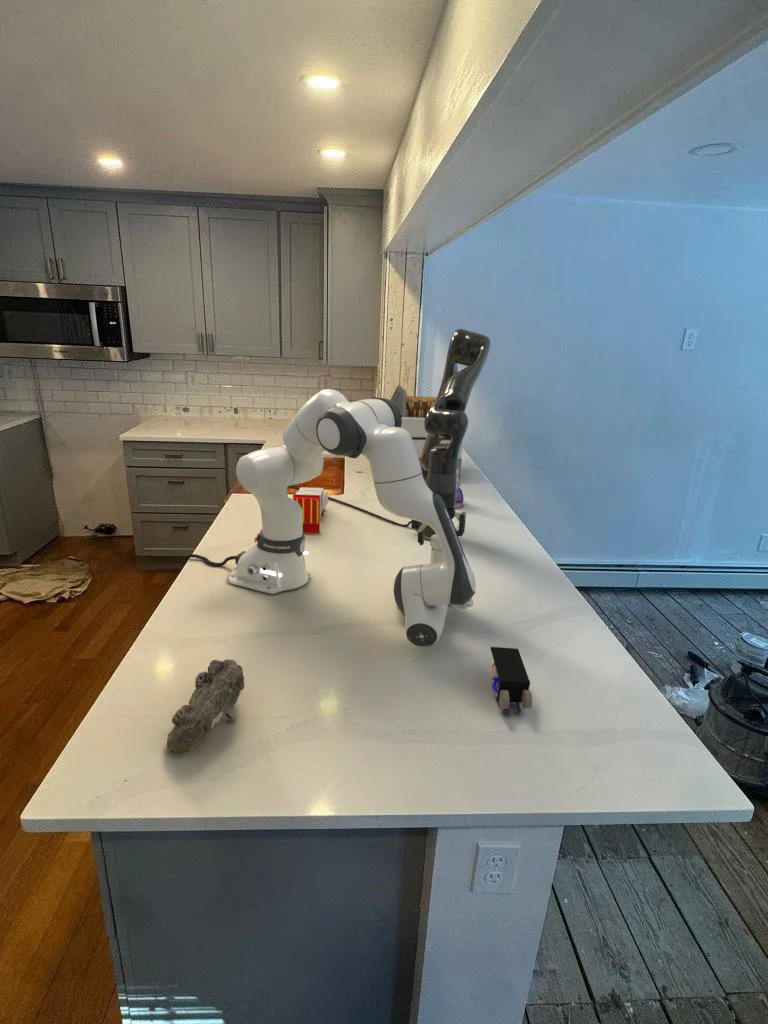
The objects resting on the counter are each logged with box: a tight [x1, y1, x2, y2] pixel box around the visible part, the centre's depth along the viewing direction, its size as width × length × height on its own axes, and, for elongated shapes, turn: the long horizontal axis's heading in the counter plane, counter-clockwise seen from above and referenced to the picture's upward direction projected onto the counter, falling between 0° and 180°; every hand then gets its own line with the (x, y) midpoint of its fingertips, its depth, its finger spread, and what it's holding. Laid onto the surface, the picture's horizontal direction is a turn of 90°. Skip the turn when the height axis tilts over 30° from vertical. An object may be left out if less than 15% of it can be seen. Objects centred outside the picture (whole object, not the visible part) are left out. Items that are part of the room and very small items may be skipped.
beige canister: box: [429, 546, 446, 564], centre depth 152 cm, size 4×4×18 cm
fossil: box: [166, 658, 245, 754], centre depth 106 cm, size 22×10×15 cm
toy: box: [292, 486, 329, 534], centre depth 207 cm, size 12×13×30 cm
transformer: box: [390, 384, 464, 482], centre depth 268 cm, size 34×33×41 cm
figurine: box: [454, 469, 464, 509], centre depth 229 cm, size 9×10×15 cm
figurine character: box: [490, 646, 533, 714], centre depth 117 cm, size 7×8×15 cm
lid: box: [429, 534, 442, 549], centre depth 149 cm, size 5×5×2 cm
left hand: (437, 578), depth 154 cm, fingers closed on beige canister, 4 cm apart
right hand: (436, 546), depth 150 cm, fingers open, 7 cm apart
